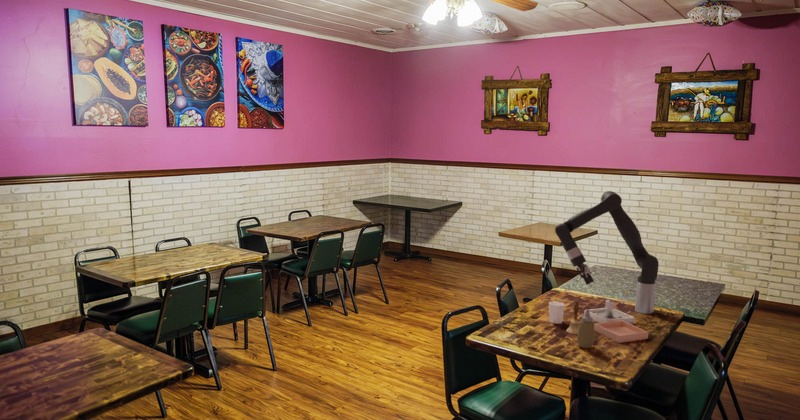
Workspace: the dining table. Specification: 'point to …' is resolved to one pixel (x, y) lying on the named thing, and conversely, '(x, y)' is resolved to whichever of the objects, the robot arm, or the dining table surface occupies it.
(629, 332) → the terracotta bin
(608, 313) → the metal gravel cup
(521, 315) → the dining table surface
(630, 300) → the dining table surface
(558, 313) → the white cup
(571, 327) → the hand bell
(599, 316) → the bin
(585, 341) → the squeeze bottle
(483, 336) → the dining table surface
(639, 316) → the dining table surface
